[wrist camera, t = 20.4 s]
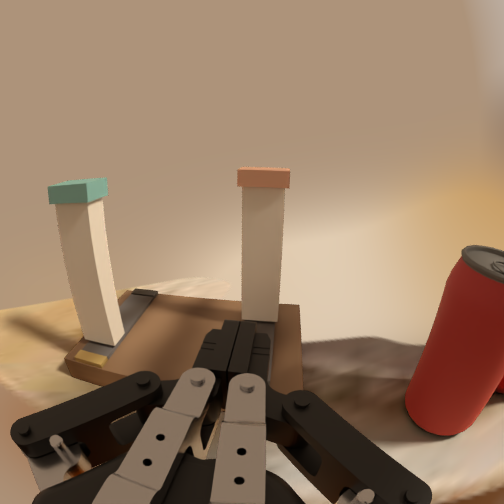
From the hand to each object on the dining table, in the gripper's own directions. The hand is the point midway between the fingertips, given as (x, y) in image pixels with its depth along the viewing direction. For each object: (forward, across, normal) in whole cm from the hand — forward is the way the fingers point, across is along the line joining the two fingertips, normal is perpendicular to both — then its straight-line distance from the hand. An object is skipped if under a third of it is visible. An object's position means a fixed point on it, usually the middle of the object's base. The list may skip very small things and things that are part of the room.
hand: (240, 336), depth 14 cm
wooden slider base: (+8, +5, +8) cm, 12 cm away
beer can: (+2, -15, +8) cm, 17 cm away
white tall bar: (+11, 0, +5) cm, 12 cm away
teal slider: (+5, +12, +5) cm, 14 cm away
